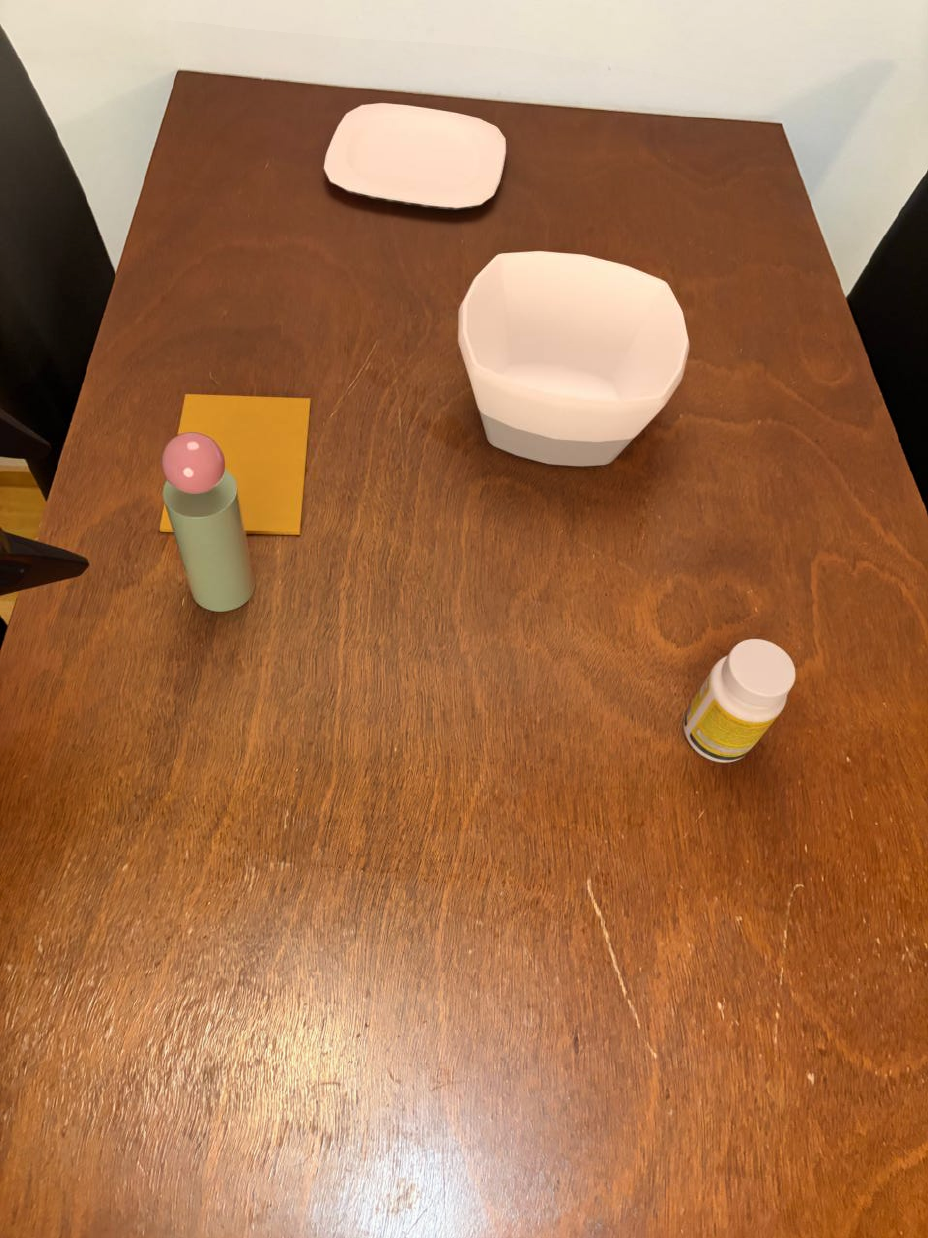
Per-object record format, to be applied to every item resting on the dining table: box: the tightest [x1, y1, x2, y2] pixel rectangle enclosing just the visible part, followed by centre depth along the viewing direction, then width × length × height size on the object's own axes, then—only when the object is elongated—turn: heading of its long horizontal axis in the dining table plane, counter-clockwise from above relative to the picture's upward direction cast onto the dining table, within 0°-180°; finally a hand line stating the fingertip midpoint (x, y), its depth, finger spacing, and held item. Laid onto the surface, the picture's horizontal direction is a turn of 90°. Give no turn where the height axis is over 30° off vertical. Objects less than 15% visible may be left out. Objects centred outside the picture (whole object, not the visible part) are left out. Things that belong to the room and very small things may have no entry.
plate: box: [323, 102, 507, 211], centre depth 93 cm, size 18×18×2 cm
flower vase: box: [160, 432, 256, 613], centre depth 56 cm, size 4×4×14 cm
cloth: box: [159, 393, 312, 536], centre depth 68 cm, size 14×10×1 cm
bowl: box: [457, 250, 690, 467], centre depth 71 cm, size 18×18×9 cm
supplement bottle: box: [682, 638, 796, 764], centre depth 56 cm, size 5×5×8 cm
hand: (65, 507), depth 50 cm, fingers open, 9 cm apart
